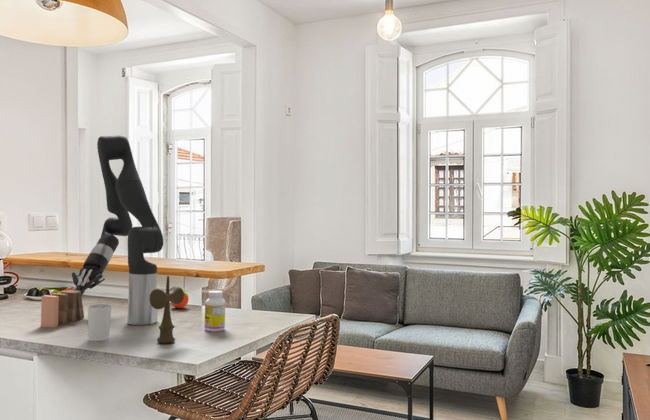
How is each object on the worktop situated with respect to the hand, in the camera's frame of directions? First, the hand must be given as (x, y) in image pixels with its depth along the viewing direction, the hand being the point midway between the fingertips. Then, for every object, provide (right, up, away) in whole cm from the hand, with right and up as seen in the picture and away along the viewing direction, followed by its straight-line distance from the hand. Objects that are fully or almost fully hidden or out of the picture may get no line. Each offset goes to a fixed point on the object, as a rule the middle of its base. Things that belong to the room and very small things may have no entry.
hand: (76, 296), depth 192 cm
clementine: (+30, -9, +25) cm, 40 cm away
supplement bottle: (+51, -10, -10) cm, 52 cm away
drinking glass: (+19, -9, -27) cm, 34 cm away
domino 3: (-1, -8, -4) cm, 9 cm away
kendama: (+40, -10, -29) cm, 50 cm away
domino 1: (-3, -8, -13) cm, 15 cm away
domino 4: (0, -8, 0) cm, 8 cm away
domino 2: (-2, -8, -8) cm, 12 cm away
